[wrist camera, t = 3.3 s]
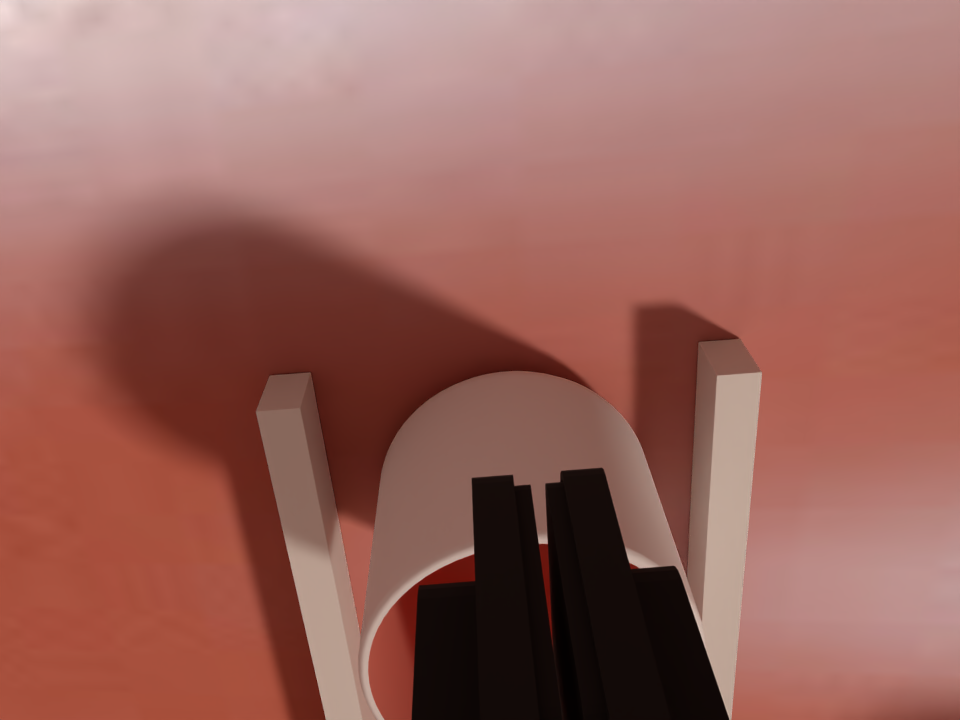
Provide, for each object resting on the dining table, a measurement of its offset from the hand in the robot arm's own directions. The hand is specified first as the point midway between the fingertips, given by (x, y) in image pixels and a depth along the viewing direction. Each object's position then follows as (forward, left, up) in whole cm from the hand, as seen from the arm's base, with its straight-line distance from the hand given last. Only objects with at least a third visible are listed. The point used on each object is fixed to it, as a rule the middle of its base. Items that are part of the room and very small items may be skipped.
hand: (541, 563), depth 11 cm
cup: (+12, 0, -19) cm, 23 cm away
